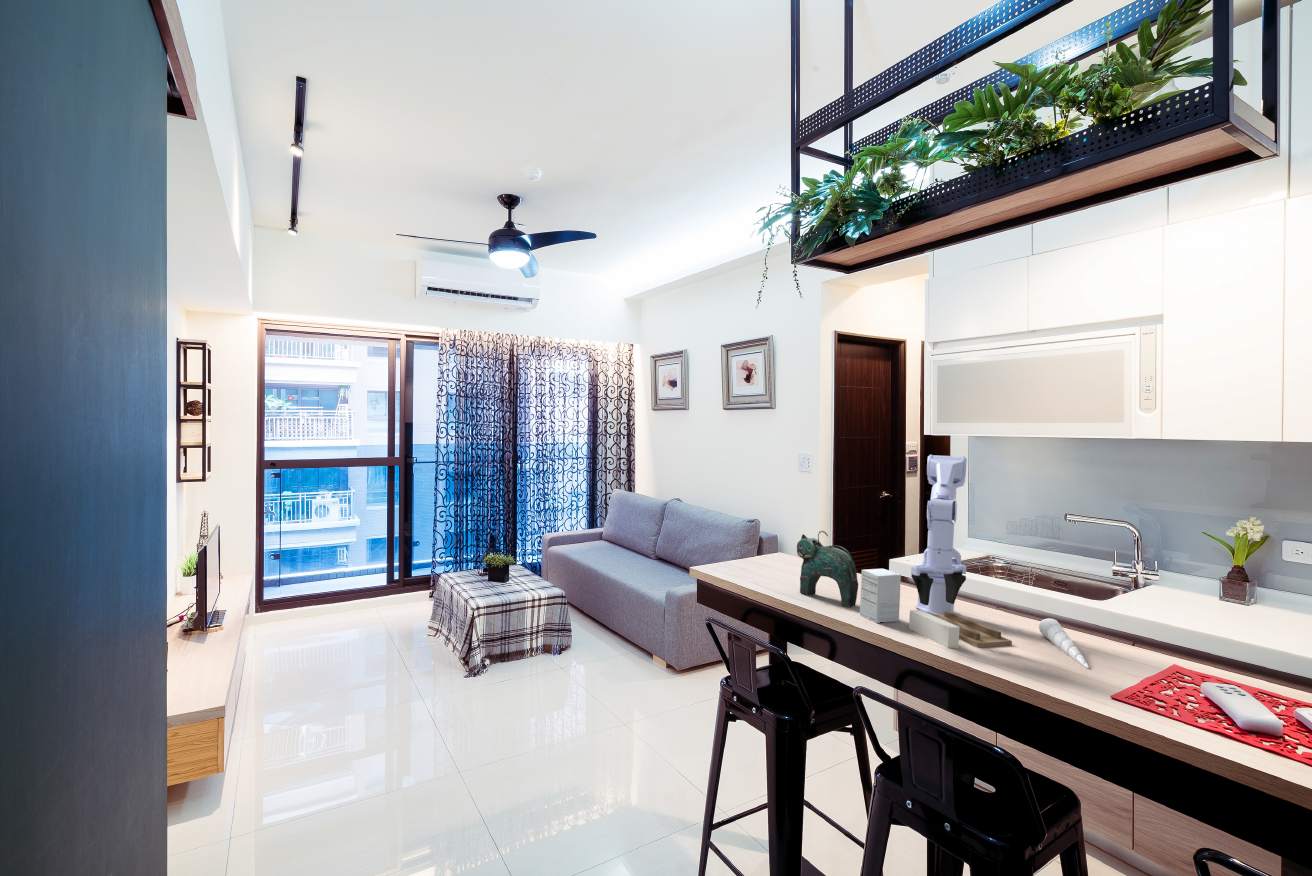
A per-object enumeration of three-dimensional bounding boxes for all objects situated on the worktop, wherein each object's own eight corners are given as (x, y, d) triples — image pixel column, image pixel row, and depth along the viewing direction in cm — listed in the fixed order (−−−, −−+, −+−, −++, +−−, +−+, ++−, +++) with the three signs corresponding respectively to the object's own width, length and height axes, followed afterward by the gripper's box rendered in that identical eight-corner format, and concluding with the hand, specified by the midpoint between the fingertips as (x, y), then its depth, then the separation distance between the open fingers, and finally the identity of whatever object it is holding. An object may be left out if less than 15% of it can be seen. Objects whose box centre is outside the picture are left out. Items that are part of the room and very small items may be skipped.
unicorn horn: (1068, 667, 140) (1070, 646, 140) (1037, 634, 163) (1038, 616, 163) (1093, 671, 139) (1094, 649, 139) (1058, 637, 162) (1059, 618, 162)
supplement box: (881, 613, 176) (883, 567, 175) (899, 621, 169) (902, 574, 168) (858, 615, 173) (860, 568, 173) (876, 623, 166) (878, 575, 166)
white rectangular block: (909, 629, 163) (909, 610, 163) (919, 628, 164) (920, 609, 164) (947, 648, 150) (948, 627, 149) (958, 648, 150) (959, 627, 150)
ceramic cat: (792, 592, 194) (795, 527, 194) (806, 589, 198) (809, 525, 198) (848, 609, 179) (851, 538, 178) (862, 606, 183) (865, 536, 182)
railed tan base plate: (915, 618, 172) (916, 609, 172) (946, 617, 175) (947, 608, 174) (977, 647, 151) (978, 636, 151) (1011, 644, 153) (1012, 634, 153)
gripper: (926, 552, 150) (923, 609, 150) (976, 550, 154) (973, 606, 155) (906, 546, 157) (903, 601, 157) (955, 545, 161) (952, 598, 161)
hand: (937, 603), depth 156 cm, fingers open, 7 cm apart
